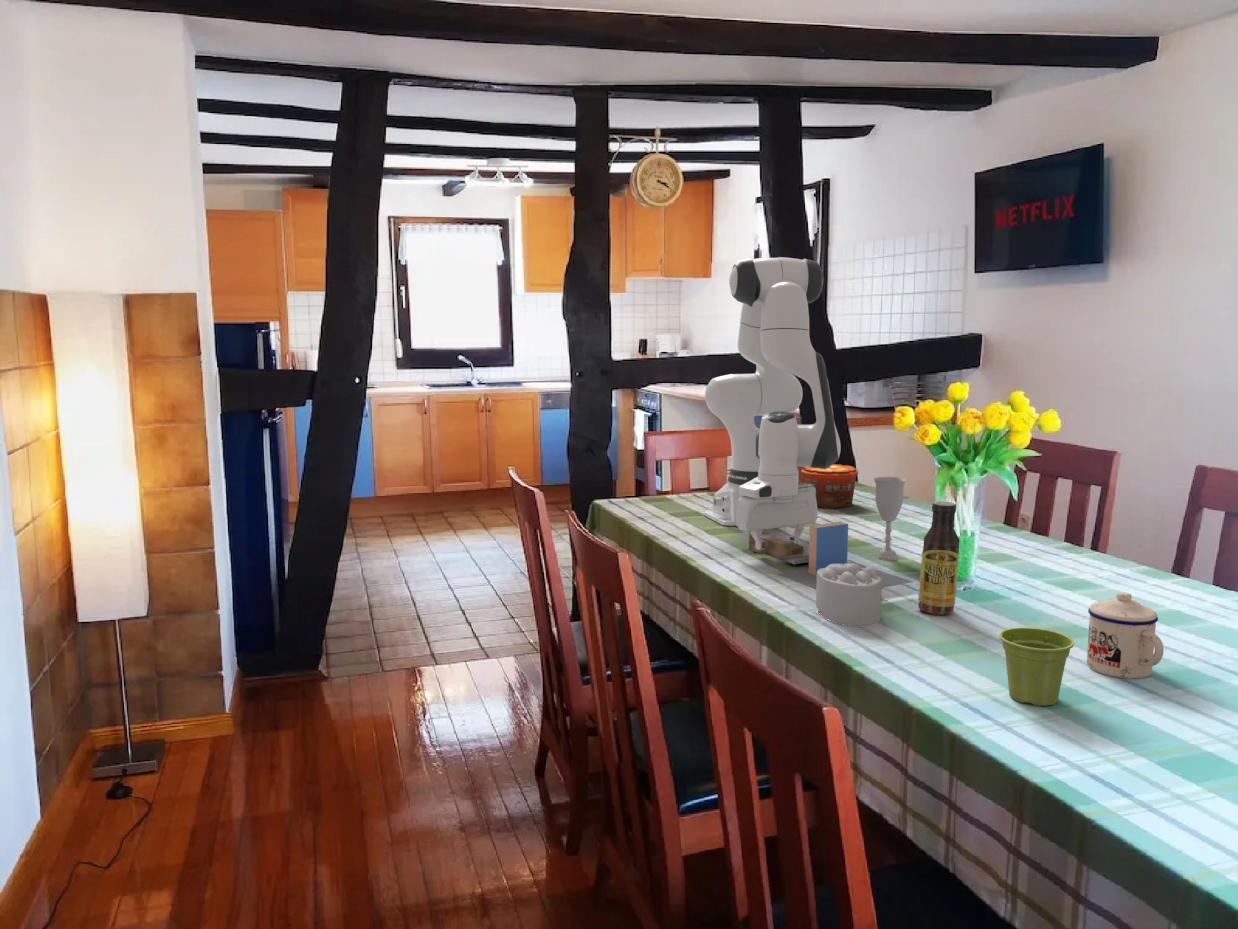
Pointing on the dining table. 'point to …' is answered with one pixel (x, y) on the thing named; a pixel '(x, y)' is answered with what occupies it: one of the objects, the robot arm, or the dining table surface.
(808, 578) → the mat
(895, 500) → the chalice
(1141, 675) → the teacup with lid
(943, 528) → the sauce bottle
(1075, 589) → the dining table surface
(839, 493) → the food container
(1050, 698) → the plant pot
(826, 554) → the tile
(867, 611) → the lumpy-topped squat cylinder
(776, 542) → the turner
